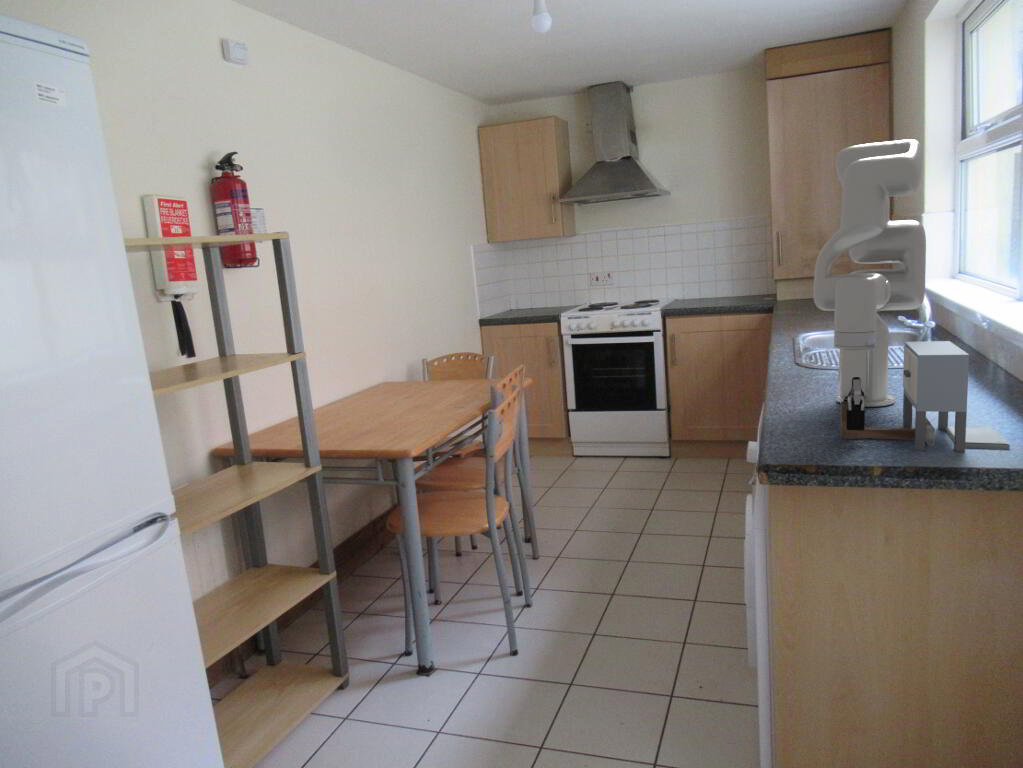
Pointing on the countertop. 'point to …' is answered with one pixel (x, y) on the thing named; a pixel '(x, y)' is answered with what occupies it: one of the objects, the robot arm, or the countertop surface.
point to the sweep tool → (883, 430)
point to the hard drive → (981, 438)
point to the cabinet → (935, 387)
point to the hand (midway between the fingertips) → (853, 423)
